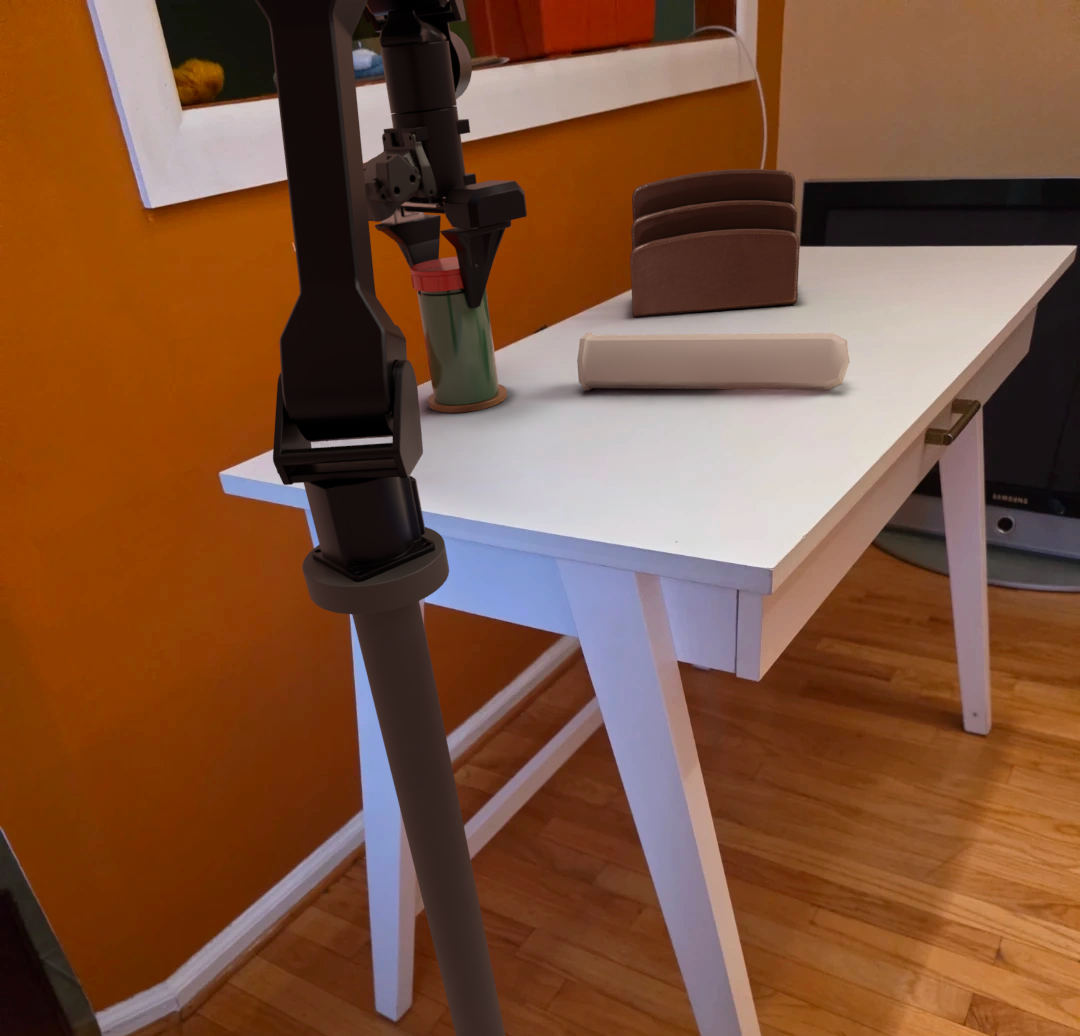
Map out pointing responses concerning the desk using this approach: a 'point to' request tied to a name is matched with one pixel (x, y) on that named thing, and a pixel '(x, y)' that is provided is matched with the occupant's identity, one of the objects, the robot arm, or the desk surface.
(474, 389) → the jar
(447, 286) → the lid
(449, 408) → the disc
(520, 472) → the desk surface
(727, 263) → the letter holder
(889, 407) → the desk surface
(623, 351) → the tube
